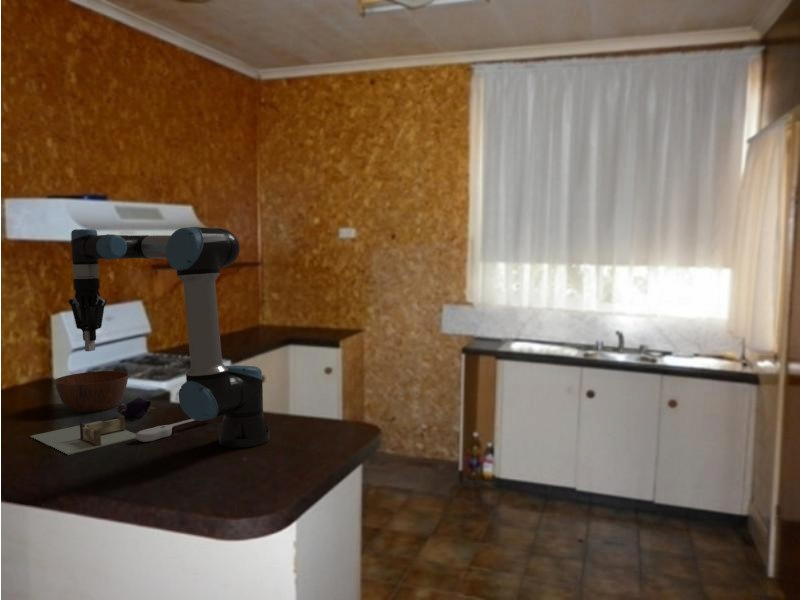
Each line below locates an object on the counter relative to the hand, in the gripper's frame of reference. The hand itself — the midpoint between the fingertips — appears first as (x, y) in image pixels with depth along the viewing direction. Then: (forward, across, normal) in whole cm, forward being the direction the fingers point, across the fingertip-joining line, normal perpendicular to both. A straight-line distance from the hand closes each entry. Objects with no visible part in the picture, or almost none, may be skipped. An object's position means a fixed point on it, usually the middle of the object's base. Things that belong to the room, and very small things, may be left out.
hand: (90, 350), depth 203 cm
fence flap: (+26, -8, +3) cm, 27 cm away
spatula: (+27, -28, -5) cm, 39 cm away
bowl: (+27, +23, -26) cm, 44 cm away
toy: (+27, -4, -18) cm, 32 cm away
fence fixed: (+26, -9, +12) cm, 30 cm away
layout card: (+26, -2, +7) cm, 27 cm away
